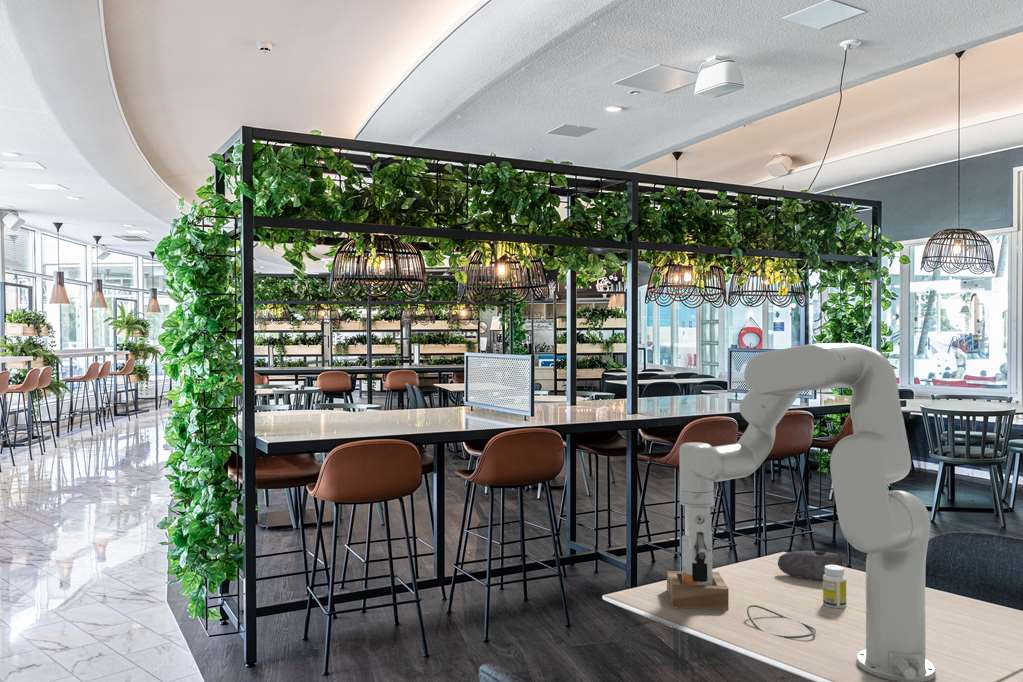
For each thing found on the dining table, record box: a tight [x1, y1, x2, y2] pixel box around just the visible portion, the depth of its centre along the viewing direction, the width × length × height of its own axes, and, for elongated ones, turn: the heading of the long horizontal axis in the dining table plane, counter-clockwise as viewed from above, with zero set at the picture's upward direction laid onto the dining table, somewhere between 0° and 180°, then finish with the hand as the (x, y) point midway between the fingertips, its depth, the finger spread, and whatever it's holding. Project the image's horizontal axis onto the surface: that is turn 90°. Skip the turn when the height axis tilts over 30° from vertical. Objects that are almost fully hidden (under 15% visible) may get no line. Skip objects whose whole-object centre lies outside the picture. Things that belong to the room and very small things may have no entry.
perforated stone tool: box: [777, 550, 844, 581], centre depth 188 cm, size 15×5×7 cm, turn 60°
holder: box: [666, 570, 729, 610], centre depth 173 cm, size 12×12×4 cm
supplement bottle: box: [822, 565, 847, 609], centre depth 169 cm, size 5×5×8 cm
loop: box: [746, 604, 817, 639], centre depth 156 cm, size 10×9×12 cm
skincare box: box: [681, 534, 713, 586], centre depth 172 cm, size 6×4×12 cm
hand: (697, 575), depth 173 cm, fingers closed on skincare box, 7 cm apart
